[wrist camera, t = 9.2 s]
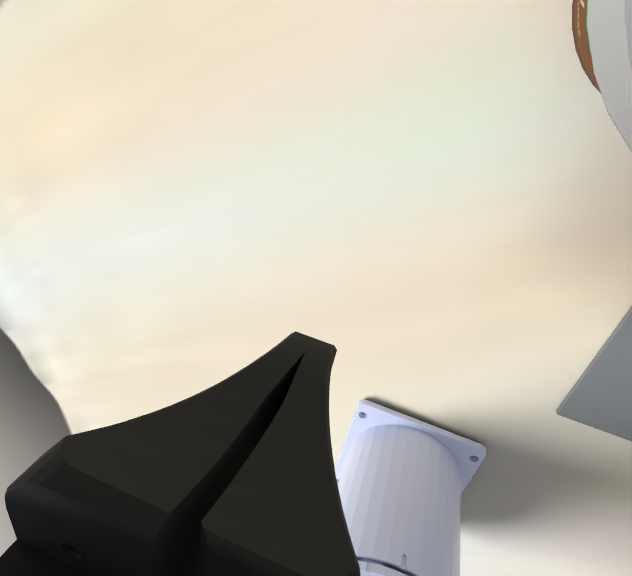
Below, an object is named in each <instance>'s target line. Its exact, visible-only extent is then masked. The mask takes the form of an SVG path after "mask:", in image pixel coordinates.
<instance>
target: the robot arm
mask: <svg viewBox="0 0 632 576" xmlns="http://www.w3.org/2000/svg"><path fill="white" fill-rule="evenodd" d="M336 351H337V349H336V348H335V346H334V345H331V344H328V343H326V342H323V341H320V340H317V339H315V338H312V337H309V336H307V335H304V334H301V333H298V332H294V333H291V334H290V335H289V336H288V337H287V338H285V339H284V340H283V341H282V342H280V343H279V344H278V345H277V346H275V347H274V348H273V349H271V350H270V351H269V352H267V353H266V354H264V355H263V356H261V357H260V358H259V359H257V360H256V361H254V362H253V363H251V364H250V365H248V366H247V367H245V368H243V369H242V370H240V371H238V372H237V373H235V374H233V375H232V376H230V377H228V378H227V379H225V380H223V381H222V382H220V383H218V384H216V385H214V386H212V387H210V388H208V389H206V390H204V391H202V392H200V393H198V394H196V395H194V396H192V397H189V398H187V399H185V400H182V401H180V402H178V403H175V404H173V405H171V406H168V407H166V408H163V409H160V410H158V411H155V412H152V413H149V414H146V415H143V416H140V417H137V418H134V419H131V420H128V421H125V422H122V423H118V424H115V425H111V426H107V427H103V428H99V429H95V430H91V431H86V432H82V433H78V434H74V435H69V436H66V437H65V438H63V439H62V440H61V441H60V442H58V443H57V444H56V445H54V446H53V447H52V448H50V449H49V450H48V451H47V452H46V453H44V454H43V455H42V456H41V457H40V458H39V459H38V460H37V461H36V462H35V463H33V464H32V465H31V466H30V467H29V468H28V469H27V470H26V471H25V472H24V473H23V474H22V475H21V476H19V477H18V478H17V479H16V480H15V481H14V482H13V483H12V484H11V485H10V486H9V487H8V488H7V491H6V494H5V502H6V509H7V511H8V514H9V517H10V520H11V523H12V526H13V529H14V531H15V534H16V537H17V540H16V541H15V542H14V543H13V544H12V545H11V546H10V547H9V548H8V549H7V551H5V553H4V554H3V555H2V556H1V557H0V576H460V509H461V494H462V492H463V491H464V489H465V487H466V486H467V484H468V483H469V481H470V480H471V478H472V477H473V475H474V474H475V472H476V470H477V469H478V467H479V466H480V464H481V463H482V461H483V460H484V458H485V457H486V448H485V447H484V445H482V444H480V443H477V442H475V441H472V440H469V439H467V438H464V437H462V436H459V435H456V434H454V433H451V432H449V431H446V430H443V429H441V428H438V427H436V426H433V425H430V424H428V423H425V422H423V421H420V420H417V419H415V418H412V417H410V416H407V415H404V414H402V413H399V412H397V411H394V410H391V409H389V408H386V407H383V406H381V405H378V404H376V403H373V402H370V401H368V400H361V401H360V402H359V403H358V406H357V409H356V411H355V414H354V417H353V420H352V423H351V425H350V428H349V431H348V434H347V437H346V439H345V442H344V445H343V448H342V450H341V453H340V456H339V459H338V462H337V464H336V467H335V468H334V462H333V455H332V447H331V437H330V424H329V385H330V375H331V368H332V365H333V362H334V358H335V355H336ZM361 412H364V413H366V414H362V413H361ZM472 456H476V457H472Z"/></svg>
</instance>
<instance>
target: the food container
mask: <svg viewBox="0 0 632 576" xmlns="http://www.w3.org/2000/svg"><path fill="white" fill-rule="evenodd" d="M572 30H573V36H574V42H575V48H576V52H577V54H578V57H579V60H580V62H581V65H582V68H583V70H584V71H585V73H586V74H587V76H588V78H589V79H590V81H591V82H592V84H593V86H594V87H595V88H596V89H597V90H598V91H599V92H600V93H601V94H602V97H603V100H604V103H605V106H606V109H607V112H608V114H609V116H610V117H611V119H612V121H613V122H614V124H615V126H616V127H617V129H618V131H619V132H620V134H621V136H622V137H623V139H624V141H625V142H626V144H627V146H628V147H629V149H630V150H631V151H632V0H573V4H572Z"/></svg>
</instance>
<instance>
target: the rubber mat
mask: <svg viewBox="0 0 632 576" xmlns="http://www.w3.org/2000/svg"><path fill="white" fill-rule="evenodd" d="M556 411H557V414H558V415H561V416H564V417H566V418H569V419H572V420H575V421H577V422H580V423H583V424H586V425H588V426H591V427H594V428H597V429H600V430H602V431H605V432H608V433H611V434H613V435H616V436H619V437H622V438H624V439H627V440H630V441H632V306H631V308H630V309H629V311H628V312H627V313H626V315H625V316H624V318H623V319H622V320H621V322H620V323H619V324H618V326H617V327H616V329H615V330H614V331H613V333H612V334H611V336H610V337H609V338H608V340H607V341H606V342H605V344H604V345H603V347H602V348H601V349H600V351H599V352H598V353H597V355H596V356H595V358H594V359H593V360H592V362H591V363H590V365H589V366H588V367H587V369H586V370H585V371H584V373H583V374H582V376H581V377H580V378H579V380H578V381H577V383H576V384H575V385H574V387H573V388H572V389H571V391H570V392H569V394H568V395H567V396H566V398H565V399H564V400H563V402H562V403H561V405H560V406H559V407H558V409H557V410H556Z"/></svg>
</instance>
